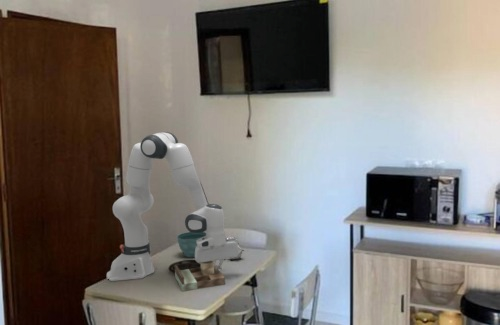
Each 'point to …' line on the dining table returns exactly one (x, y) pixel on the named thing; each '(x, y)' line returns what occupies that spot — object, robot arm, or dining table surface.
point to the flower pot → (189, 242)
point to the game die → (239, 253)
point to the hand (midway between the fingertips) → (218, 268)
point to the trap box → (197, 278)
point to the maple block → (207, 268)
